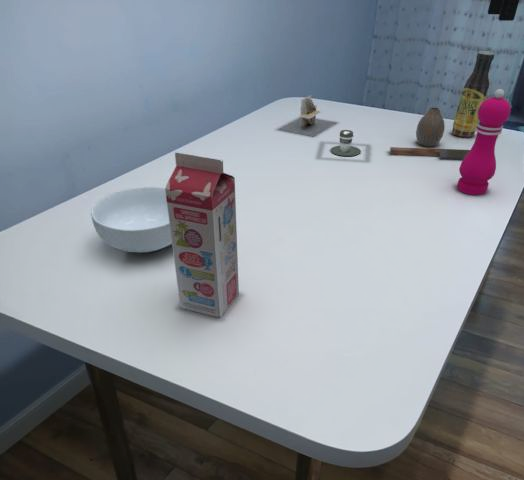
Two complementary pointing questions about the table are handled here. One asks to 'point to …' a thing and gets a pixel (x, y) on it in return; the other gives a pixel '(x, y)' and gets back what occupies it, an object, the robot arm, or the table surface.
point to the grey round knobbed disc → (345, 145)
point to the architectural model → (307, 120)
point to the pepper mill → (484, 146)
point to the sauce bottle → (473, 96)
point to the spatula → (431, 152)
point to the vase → (430, 128)
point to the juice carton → (203, 234)
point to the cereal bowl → (133, 219)
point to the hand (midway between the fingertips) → (499, 17)
